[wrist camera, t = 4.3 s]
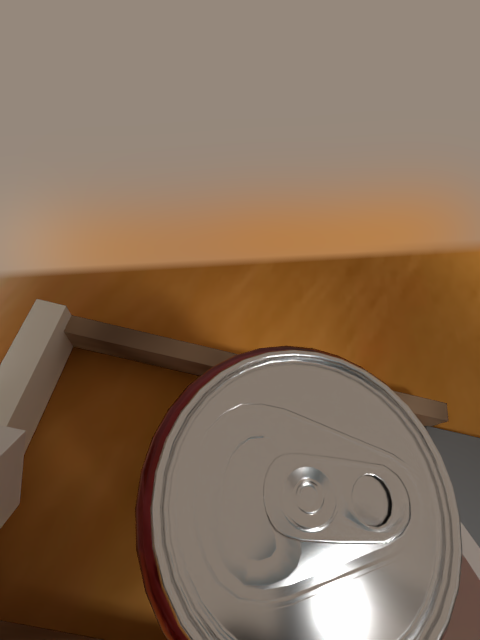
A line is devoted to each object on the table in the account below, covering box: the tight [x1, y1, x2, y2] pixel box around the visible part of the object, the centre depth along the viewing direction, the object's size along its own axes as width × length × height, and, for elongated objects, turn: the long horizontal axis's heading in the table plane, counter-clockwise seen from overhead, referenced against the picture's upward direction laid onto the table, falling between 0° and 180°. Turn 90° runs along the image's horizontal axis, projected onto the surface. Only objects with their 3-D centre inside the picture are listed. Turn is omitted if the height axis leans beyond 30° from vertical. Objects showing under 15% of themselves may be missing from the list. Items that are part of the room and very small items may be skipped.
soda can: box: [135, 346, 463, 640], centre depth 13 cm, size 7×7×12 cm
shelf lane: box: [0, 299, 448, 640], centre depth 16 cm, size 23×14×3 cm, turn 80°
